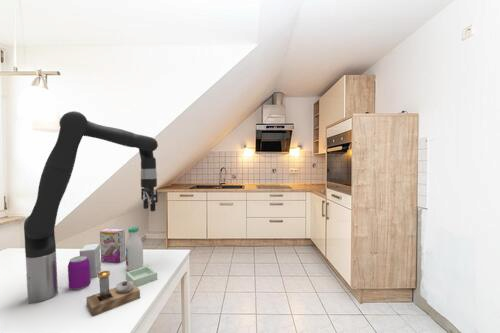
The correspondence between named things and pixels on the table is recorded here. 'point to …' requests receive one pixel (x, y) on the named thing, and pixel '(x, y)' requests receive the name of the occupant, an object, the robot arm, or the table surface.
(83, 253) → the small box
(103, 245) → the candy bar box
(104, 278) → the pin
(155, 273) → the tray
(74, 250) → the table surface
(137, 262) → the milk bottle
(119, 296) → the block
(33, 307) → the table surface
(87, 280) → the beverage can
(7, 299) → the table surface
